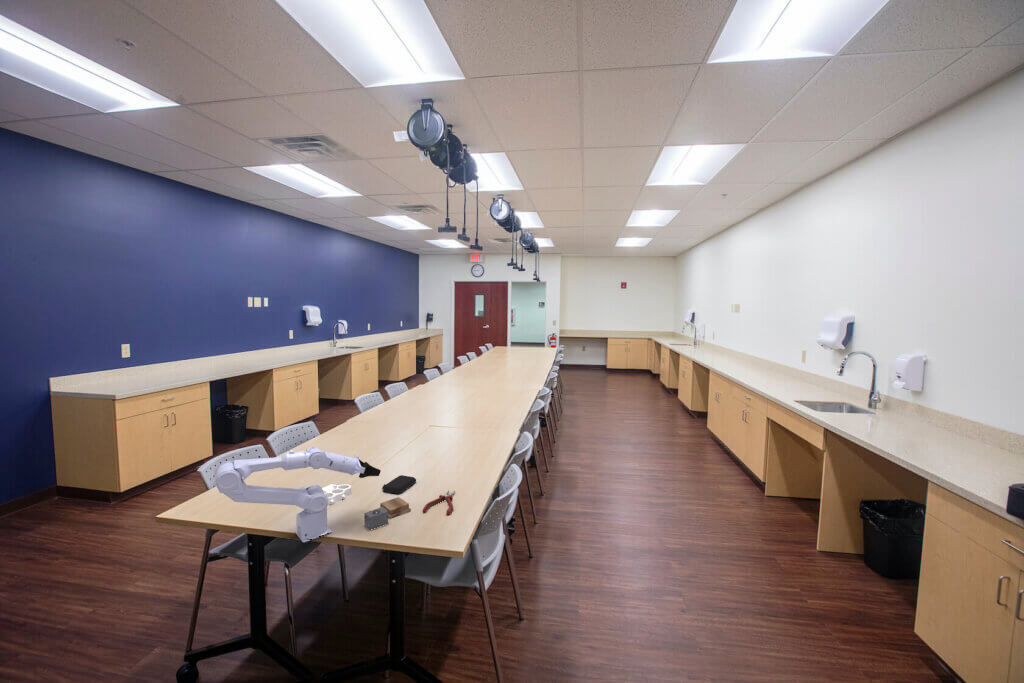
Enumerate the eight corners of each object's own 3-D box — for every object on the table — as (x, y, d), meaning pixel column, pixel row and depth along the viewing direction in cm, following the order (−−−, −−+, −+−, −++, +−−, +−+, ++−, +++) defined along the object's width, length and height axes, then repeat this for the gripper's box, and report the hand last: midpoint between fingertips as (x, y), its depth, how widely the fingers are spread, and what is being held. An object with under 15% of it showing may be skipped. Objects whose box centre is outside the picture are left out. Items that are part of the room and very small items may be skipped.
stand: (389, 519, 155) (389, 511, 154) (378, 510, 161) (378, 503, 161) (410, 511, 161) (410, 503, 161) (399, 503, 167) (399, 496, 167)
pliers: (464, 494, 177) (464, 488, 177) (449, 517, 158) (449, 511, 157) (439, 492, 179) (439, 486, 179) (421, 514, 160) (421, 508, 159)
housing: (388, 524, 151) (388, 510, 151) (369, 530, 146) (369, 517, 146) (382, 519, 154) (382, 506, 154) (364, 526, 150) (364, 512, 149)
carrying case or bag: (397, 479, 192) (378, 492, 178) (397, 473, 191) (378, 485, 177) (418, 482, 188) (399, 496, 174) (418, 476, 188) (399, 489, 174)
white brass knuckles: (336, 487, 182) (358, 495, 175) (297, 503, 167) (319, 512, 159) (336, 480, 182) (358, 487, 174) (297, 495, 166) (319, 504, 159)
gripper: (351, 455, 143) (386, 463, 151) (339, 449, 154) (372, 457, 162) (344, 476, 141) (380, 483, 149) (331, 468, 152) (365, 475, 160)
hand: (375, 471), depth 155 cm, fingers open, 7 cm apart
